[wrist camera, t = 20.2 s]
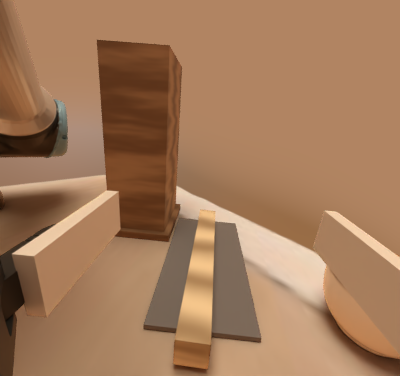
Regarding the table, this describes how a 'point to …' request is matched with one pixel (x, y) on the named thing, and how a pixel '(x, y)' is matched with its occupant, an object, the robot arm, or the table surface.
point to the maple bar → (197, 299)
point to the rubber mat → (222, 285)
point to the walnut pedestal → (141, 134)
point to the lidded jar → (354, 318)
